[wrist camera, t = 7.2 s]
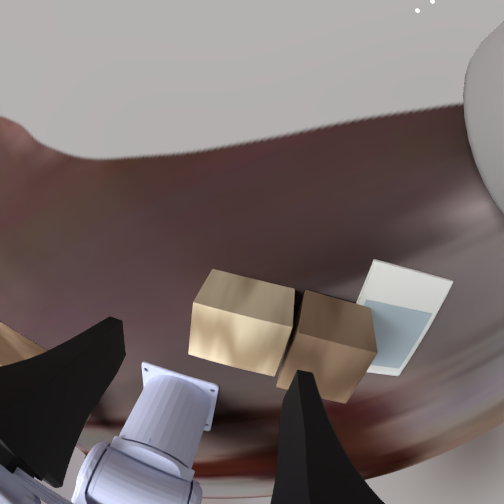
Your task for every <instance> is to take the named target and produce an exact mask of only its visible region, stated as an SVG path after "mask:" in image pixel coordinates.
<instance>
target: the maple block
mask: <svg viewBox="0 0 504 504" xmlns="http://www.w3.org/2000/svg"><path fill="white" fill-rule="evenodd" d="M294 295H295V289H293V288H289V287H284V286H280V285H276V284H272V283H268V282H264V281H259V280H255V279H251V278H247V277H243V276H239V275H235V274H231V273H227V272H223V271H219V270H215V269H212V271H211V272H210V274H209V276H208V278H207V279H206V281H205V283H204V285H203V286H202V288H201V290H200V291H199V293H198V295H197V297H196V299H195V300H194V302H193V311H192V321H191V331H190V342H189V353H188V354H189V355H193V356H196V357H200V358H203V359H207V360H210V361H214V362H217V363H221V364H225V365H229V366H233V367H237V368H241V369H245V370H249V371H253V372H257V373H262V374H266V375H271V376H275V373H276V371H277V368H278V366H279V363H280V360H281V358H282V355H283V352H284V350H285V347H286V344H287V341H288V339H289V336H290V333H291V330H292V328H293V313H294Z"/></svg>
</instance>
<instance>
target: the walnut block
mask: <svg viewBox="0 0 504 504" xmlns="http://www.w3.org/2000/svg"><path fill="white" fill-rule="evenodd" d="M377 353H378V352H377V345H376V338H375V332H374V326H373V320H372V314H371V308H369V307H366V306H362V305H358V304H355V303H351V302H348V301H344V300H341V299H337V298H333V297H330V296H326V295H323V294H319V293H316V292H312V291H309V290H305V293H304V295H303V298H302V301H301V304H300V307H299V310H298V313H297V315H296V318H295V321H294V324H293V328H292V330H291V333H290V336H289V339H288V341H287V344H286V348H285V352H284V356H283V361H282V365H281V369H280V373H279V377H278V381H277V385H276V387H279V388H283V389H287V390H288V389H289V386H290V384H291V382H292V380H293V378H294V375H295V373H296V371H297V370H302V371H308V372H312V373H313V374H314V377H315V381H316V384H317V387H318V390H319V393H320V396H321V398H323V399H327V400H332V401H336V402H341V403H346V402H347V400H348V399H349V397H350V396H351V394H352V393H353V391H354V390H355V388H356V387H357V385H358V384H359V382H360V381H361V379H362V378H363V376H364V375H365V373H366V371H367V370H368V368H369V367H370V365H371V363H372V362H373V360H374V358H375V357H376V355H377Z"/></svg>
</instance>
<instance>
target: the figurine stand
mask: <svg viewBox="0 0 504 504" xmlns="http://www.w3.org/2000/svg"><path fill="white" fill-rule="evenodd" d="M46 351H48V350H46V349H44V348H42V347H41V346H39V345H37V344H35V343H34V342H32V341H30V340H29V339H27V338H25V337H24V336H22V335H20V334H19V333H17V332H15V331H14V330H12V329H11V328H9V327H8V326H6V325H5V324H3V323H2V322H0V366H5V365H9V364H12V363H16V362H19V361H22V360H26V359H29V358H31V357H34V356H37V355H39V354H42V353H44V352H46ZM90 416H91V414H90V415H89V417H90ZM89 417H88V419H89ZM88 419H87V421H88ZM87 421H86V422H87ZM85 424H86V423H85ZM84 426H85V425H84Z"/></svg>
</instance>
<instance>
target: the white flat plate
mask: <svg viewBox="0 0 504 504" xmlns="http://www.w3.org/2000/svg"><path fill="white" fill-rule="evenodd" d="M452 283H453V281H452V280H450V279H446V278H443V277H439V276H435V275H432V274H428V273H425V272H421V271H417V270H414V269H410V268H406V267H403V266H399V265H395V264H392V263H388V262H384V261H380V260H376V259H374V260H373V262H372V265H371V268H370V270H369V273H368V275H367V278H366V280H365V283H364V285H363V287H362V290H361V292H360V295H359V297H358V299H357V302H356V304H358V305H362V306H366V307H369V308H371V314H372V320H373V326H374V332H375V338H376V345H377V352H378V353H377V355H376V357H375V358H374V360H373V362H372V363H371V365H370V367H369V368H368V370H367V371H366V372H370V373H378V374H385V375H393V376H399V375H400V373H401V372H402V370H403V369H404V367H405V366H406V364H407V363H408V361H409V360H410V358H411V357H412V355H413V353H414V352H415V350H416V349H417V347H418V345H419V344H420V342H421V341H422V339H423V337H424V336H425V334H426V332H427V330H428V329H429V327H430V325H431V323H432V322H433V320H434V318H435V316H436V315H437V313H438V311H439V309H440V307H441V305H442V303H443V301H444V299H445V298H446V296H447V294H448V292H449V290H450V288H451V286H452Z"/></svg>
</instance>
